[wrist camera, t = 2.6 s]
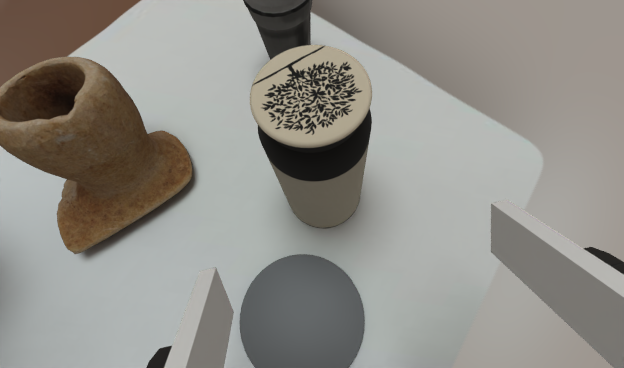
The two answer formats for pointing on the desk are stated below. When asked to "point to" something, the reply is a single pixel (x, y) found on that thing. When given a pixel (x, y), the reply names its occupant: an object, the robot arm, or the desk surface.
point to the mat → (302, 315)
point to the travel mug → (315, 129)
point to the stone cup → (90, 147)
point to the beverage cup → (281, 23)
